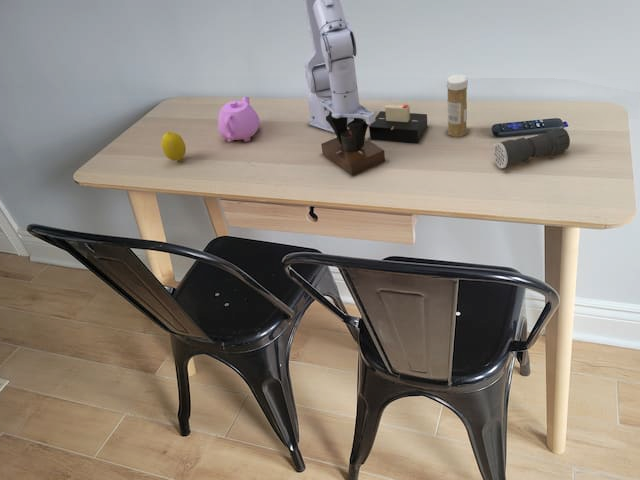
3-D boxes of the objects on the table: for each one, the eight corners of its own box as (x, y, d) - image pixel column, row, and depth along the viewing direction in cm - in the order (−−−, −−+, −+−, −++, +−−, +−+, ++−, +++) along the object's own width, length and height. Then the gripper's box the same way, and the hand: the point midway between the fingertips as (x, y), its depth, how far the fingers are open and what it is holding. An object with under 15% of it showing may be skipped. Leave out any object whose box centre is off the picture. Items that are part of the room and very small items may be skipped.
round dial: (338, 146, 132) (336, 131, 130) (354, 139, 134) (352, 124, 131) (349, 153, 129) (346, 138, 127) (365, 146, 131) (363, 131, 128)
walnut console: (322, 155, 136) (320, 143, 134) (354, 141, 139) (352, 129, 137) (352, 176, 128) (350, 164, 125) (385, 161, 131) (384, 149, 128)
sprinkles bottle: (471, 132, 135) (472, 77, 127) (456, 139, 134) (456, 84, 125) (457, 126, 139) (457, 72, 130) (443, 133, 137) (442, 78, 128)
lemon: (193, 155, 144) (183, 126, 139) (182, 167, 141) (172, 138, 135) (175, 154, 146) (164, 126, 141) (163, 166, 142) (152, 137, 137)
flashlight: (556, 143, 127) (559, 121, 123) (570, 155, 123) (574, 132, 119) (492, 160, 125) (493, 138, 121) (504, 172, 121) (506, 150, 117)
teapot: (214, 148, 146) (203, 114, 140) (235, 120, 157) (226, 87, 151) (251, 148, 143) (242, 113, 137) (271, 119, 154) (263, 86, 148)
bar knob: (386, 120, 138) (384, 106, 135) (388, 117, 139) (387, 103, 136) (408, 122, 136) (407, 107, 133) (410, 119, 137) (409, 104, 134)
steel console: (369, 141, 139) (367, 127, 136) (382, 122, 145) (381, 108, 143) (416, 145, 134) (416, 131, 132) (428, 125, 141) (428, 111, 138)
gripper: (307, 88, 124) (317, 144, 133) (356, 102, 116) (363, 161, 125) (329, 76, 128) (337, 131, 137) (379, 89, 120) (384, 146, 129)
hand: (351, 144), depth 131 cm, fingers closed on round dial, 4 cm apart
